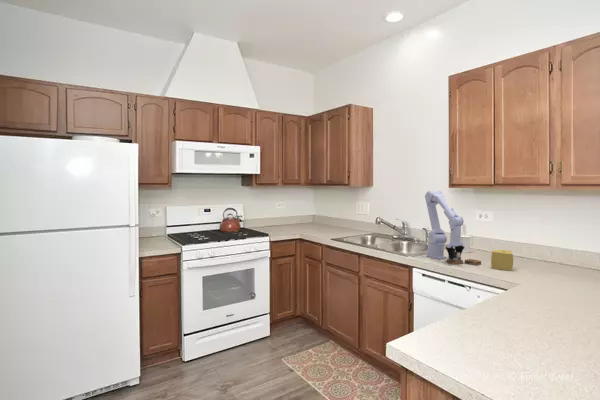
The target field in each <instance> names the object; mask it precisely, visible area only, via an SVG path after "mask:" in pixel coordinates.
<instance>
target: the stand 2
mask: <svg viewBox="0 0 600 400" xmlns="http://www.w3.org/2000/svg"><path fill="white" fill-rule="evenodd" d="M464 264H466V265H471V266H479V265H482V260H479V259H474V258H467V259H464Z"/></svg>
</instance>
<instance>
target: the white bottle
mask: <svg viewBox="0 0 600 400" xmlns="http://www.w3.org/2000/svg"><path fill="white" fill-rule="evenodd" d="M466 229H467V225H466V224H465V223H463V225H462V227H461V242H463V246H464V249H463V251H462V253H463V254H469V253H471V245H474V244H473V238H474V236H473V234H471V233H468V232H467V230H466ZM462 253H461V254H462Z"/></svg>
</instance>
